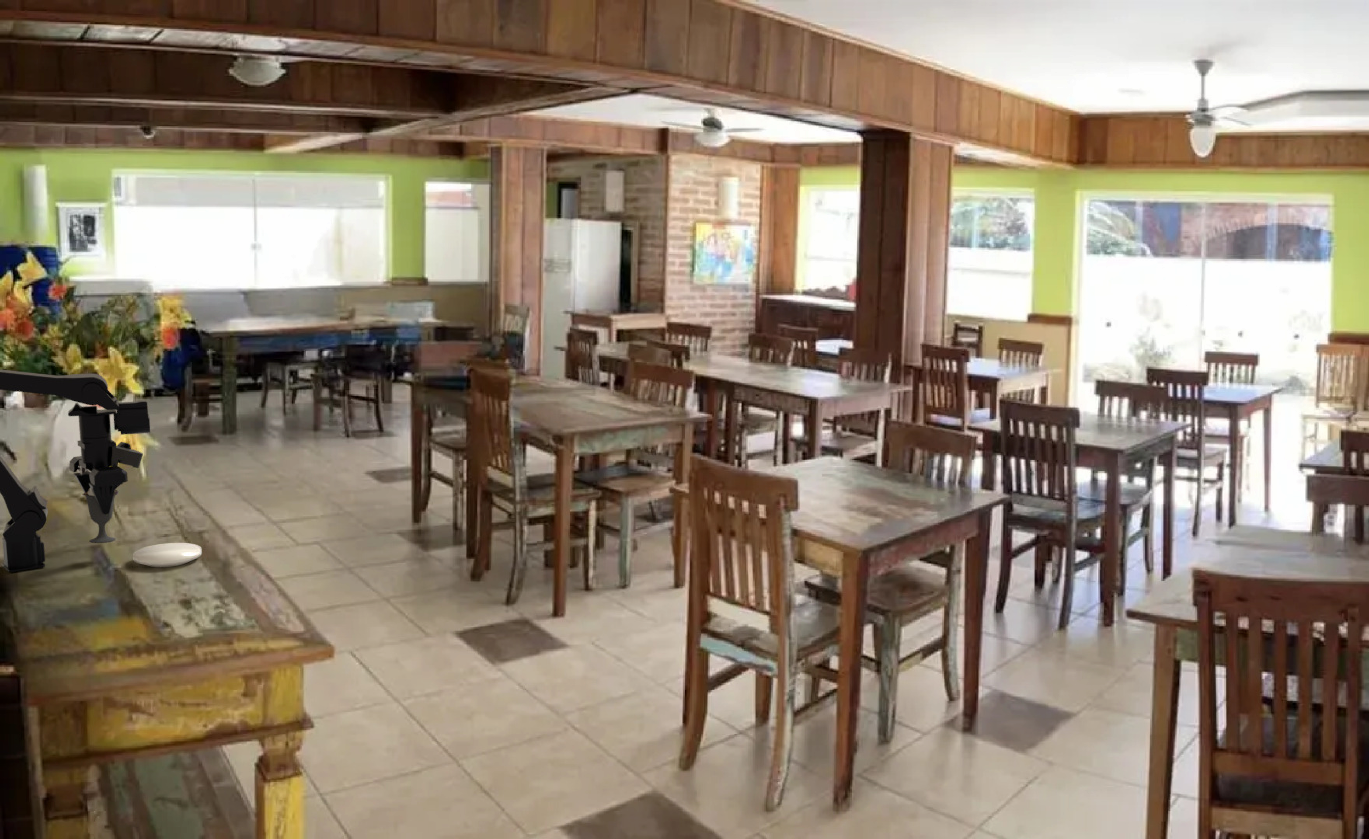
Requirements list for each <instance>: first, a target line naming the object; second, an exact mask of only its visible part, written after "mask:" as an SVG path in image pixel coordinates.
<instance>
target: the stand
mask: <svg viewBox="0 0 1369 839" xmlns="http://www.w3.org/2000/svg"><path fill="white" fill-rule="evenodd" d="M132 556H133V558H132V559H133V561H134V562H135V563H137V564H139V565H146V566H147V567H153V568H168V567H175V566H176V567H177V566H182V565H185V564H187V563H189V562H191V561H193V560H196V559H198V558H199V557H201V556H202V547H201V546H200V545H199V544H196V543H195V544H194V543H190V542H189V543H188V542H187V543H186V542H165V543H160V544H153V545H147V546H145V547H141V548H139V549H137V550H135V551H134V552H133V554H132Z"/></svg>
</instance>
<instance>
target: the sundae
mask: <svg viewBox="0 0 1369 839" xmlns="http://www.w3.org/2000/svg"><path fill="white" fill-rule="evenodd" d="M118 494H119V491H118V490H117V489H115V492H114V495H113V499H112V504H111V508H110V512H109V514H103V513H102V511H101V509H100V507H99V505H98V502H97V500H96V498H95V496H94V494H93V492H92V490H91V488H90V489H89V491H88V492H86V493H84V492H83V493H82V495H83V496H84V497H85V498H86V502H87V503H86V504H87V508H88V512H89V517H90V519H91V521H93V522H94V523H96V524H97V525H98V533H97V536H96V537H94V538H91V539H89V541H88V542H89V543H92V544H107V543H112V542H114V541H116V538H115V537H113V536H109V535H108V534H107V532H106V524H107V523H108V522H109V521H110V520H111V519H112V518H113V513H114V506H115V504H114V503H115V498H116V497H115V496H116V495H118Z"/></svg>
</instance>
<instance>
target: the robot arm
mask: <svg viewBox="0 0 1369 839" xmlns="http://www.w3.org/2000/svg"><path fill="white" fill-rule="evenodd" d="M108 385H109V384H108V383H107V380H106V379H105V378H104V377H103V376H102V375H100V374H97V373H76V374H75V373H74V374H73V373H72V374H67V375H54V374H44V373H35V372H26V371H18V370H17V371H16V370H10V369H9V370H8V369H0V391H8V392H9V391H10V392H18V393H29V394H39V395H47V396H56V397H60V398H63V399H66V400H69V401H73V402H75V404H74V405H73V407H72V408H70V409H69V410H68V412H67V416H68V417H78V428H79V429H78V430H79V440H77V446H78V447H80V455H79V456H73V457H72V458H71V459H70V460H69V471H71V472H72V473H73V476H74V477H75V479H76V481H77V482H78V484H79V486H80V488H81V489H82V492H83V494H84V493H86V492H88V491H89V489H90V488H91V490H92V492H93V494H94V496H95V498H96V500H97V502H98V505H99V507H100V509H101V511H102V513H103V514H109V512H110V508H111V504H112V499H113V495H114V492H115V490H117V488H119V487H120V486H121V485H123V484H124V483H127V482H128V481H129V480H128V472H127V471H126V470H124V468H121V467H120V466H119V464H121V465H125V466H126V465H127V466H131V467H132V468H135V469H139V468H140V465H141V461H142V459H143V456H144V453H143V452H141V451H139V450H135V449H133V448H132V447H131V444H130V443H128V442H123V441H120V442H119V443H118V444H117V442H116V441H115V440H112V429H111V415H113V428H114V431H117V432H120V435H121V436H122V435H136V434H137V435H138V434H139V435H141V434H150V433H151V425H150V424H151V422H150V414H149V409H148V408H149V407H148V401H147V400H145V399H144V400H143V399H142V400H137V401H124V402H120V401H119V400H118V399H117V397H116V396H114V395H113V393H112V392H111V391H110V390H109V386H108ZM79 403H80V404H84V405H86V406H84V405H83V406H82V405H80V404H79ZM98 406H99V407H101V408H103V409H98ZM0 495H1V496H2V498H3V500H4V503H5V506H6V509H7V510H8V513H9V515H10V517H11V518H10V519H9V520H8V521H7V522H6V523H5V526H4V529H3V532H2V540H1V541H2V548H3V549H2V550H3V551H2V552H3V562H2V567H3V568H4V569H5V570H6V571H7V572H8V573H17V572H22V571H27V570H28V571H29V570H35V569H40V568H45V567H46V564H45V562H46V555H45V553H46V552H45V542H43V541H42V540H41V539H42V538H41V535H39V534H38V533H37V532H38V531H40V530H41V529H43V528H44V526H45V524H46V523H47V518H48V513H49V512H48V511H49V510H48V506H47V504H48V500H47V499H46V498H44V497H43V496H42V495H41V493H40V491H39V489H38V487H37V486H36V485H34V486H32V488H31V489H29V488H28V487H27V486H25V485H24V484H22V482H21V481H20V480H19V478H18V477H17V475H16V474H15V473H14V472H13V471H12V469H11V468H10V467H9V465H8V463H6V461H5V460H4V458H3V457H2V456H1V455H0Z"/></svg>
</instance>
